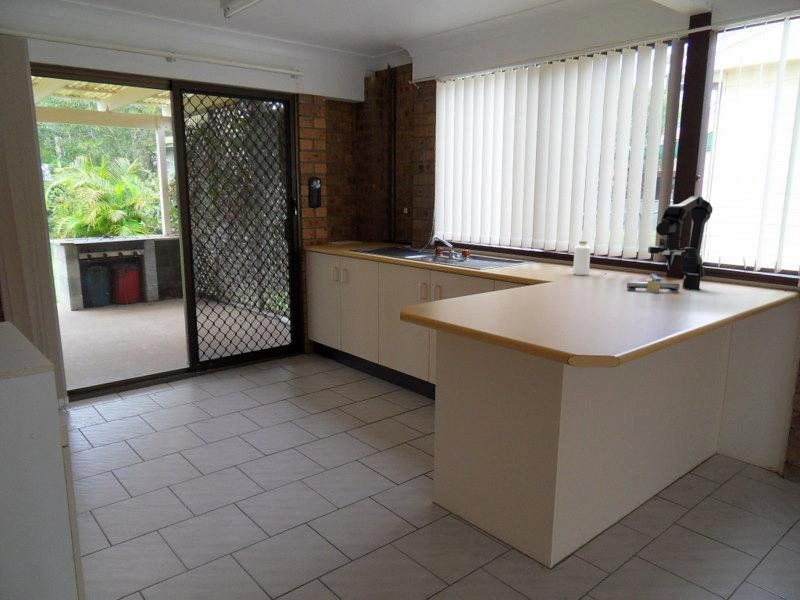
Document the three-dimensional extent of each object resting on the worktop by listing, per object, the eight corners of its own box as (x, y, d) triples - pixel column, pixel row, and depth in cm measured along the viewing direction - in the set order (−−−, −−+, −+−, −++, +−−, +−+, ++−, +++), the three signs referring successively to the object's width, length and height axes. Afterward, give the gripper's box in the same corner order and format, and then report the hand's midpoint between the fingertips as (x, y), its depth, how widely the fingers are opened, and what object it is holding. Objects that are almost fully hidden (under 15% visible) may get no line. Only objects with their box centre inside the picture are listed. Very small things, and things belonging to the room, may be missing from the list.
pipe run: (677, 291, 260) (678, 278, 259) (679, 293, 255) (680, 279, 254) (626, 289, 265) (627, 276, 264) (627, 291, 260) (628, 277, 259)
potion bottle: (586, 273, 313) (589, 240, 309) (590, 275, 304) (592, 242, 301) (571, 273, 313) (573, 240, 310) (574, 275, 305) (576, 242, 302)
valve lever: (649, 276, 261) (649, 274, 260) (656, 277, 260) (656, 274, 260) (654, 281, 249) (654, 278, 248) (661, 281, 248) (661, 278, 248)
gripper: (692, 233, 252) (688, 268, 255) (647, 232, 257) (644, 266, 260) (698, 235, 242) (694, 271, 245) (651, 234, 246) (648, 270, 250)
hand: (669, 269), depth 250 cm, fingers closed
